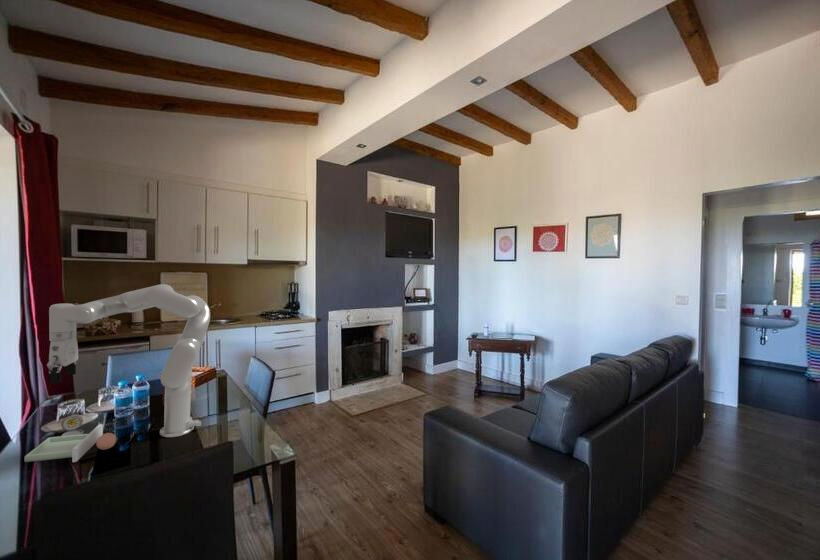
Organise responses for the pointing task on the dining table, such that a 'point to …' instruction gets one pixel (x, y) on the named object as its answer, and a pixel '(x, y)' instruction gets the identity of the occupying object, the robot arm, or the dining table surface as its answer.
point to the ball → (106, 441)
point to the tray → (55, 448)
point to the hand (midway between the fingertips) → (63, 378)
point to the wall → (86, 443)
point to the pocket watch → (74, 424)
